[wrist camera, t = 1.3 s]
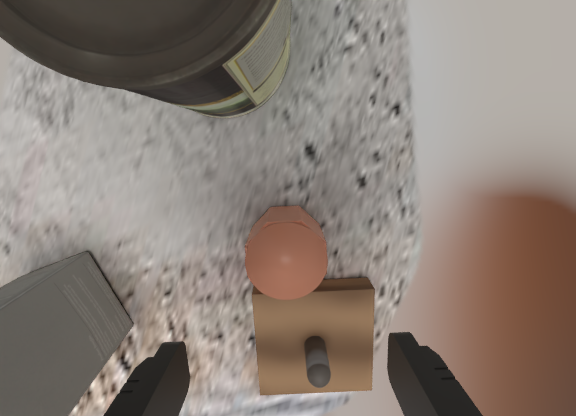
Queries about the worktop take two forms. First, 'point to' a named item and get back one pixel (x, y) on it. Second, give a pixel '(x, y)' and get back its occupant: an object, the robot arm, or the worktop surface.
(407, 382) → the robot arm
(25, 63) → the worktop surface
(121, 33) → the coffee can
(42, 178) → the worktop surface
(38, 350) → the skincare box
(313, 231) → the cap
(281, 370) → the peg block
